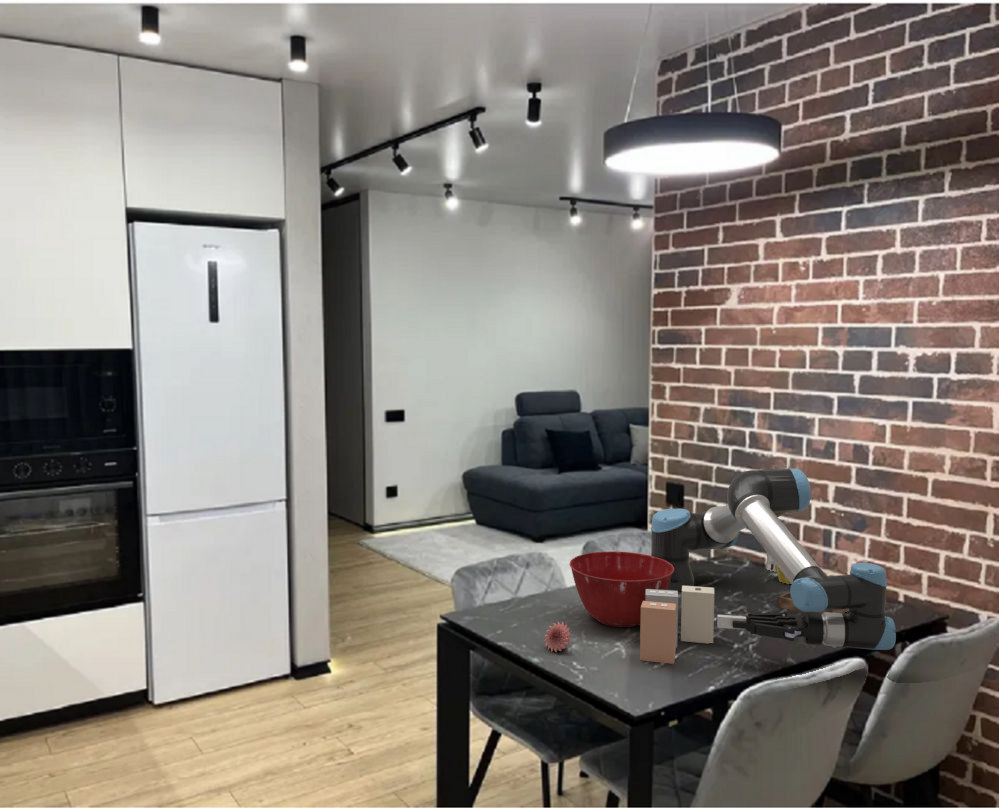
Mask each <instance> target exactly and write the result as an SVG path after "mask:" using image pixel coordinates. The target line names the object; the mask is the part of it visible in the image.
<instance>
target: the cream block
mask: <svg viewBox="0 0 999 808" xmlns="http://www.w3.org/2000/svg"><path fill="white" fill-rule="evenodd" d="M680 610H681V615H680V616H681V618H680V619H681V620H680V621H681V622H680V642H688V643H689V642H690V643H698V644H709V643H713V644H714V630H715V629H714V623H715V622H714V621H715V618H714V617H715V587H710V586H709V587H708V586H695V585H694V586H682V591H681V609H680Z"/></svg>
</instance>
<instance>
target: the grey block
mask: <svg viewBox="0 0 999 808" xmlns="http://www.w3.org/2000/svg"><path fill="white" fill-rule="evenodd" d="M645 601H651V602H662V603H673V604H676V649H678V635H679V634H678V629H679V626H678V624H679V622H678V620H679V591H672V590H654V589H646V599H645Z"/></svg>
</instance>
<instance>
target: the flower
mask: <svg viewBox="0 0 999 808" xmlns="http://www.w3.org/2000/svg"><path fill="white" fill-rule="evenodd" d="M552 625H553V626H552ZM552 625H549V626H548V628H549V629H547V630H546V629H545V632H547V633H546V634H545V635H544V636H543V637H546V638H545V639H544V640H543V642H546V643H545V645H544V647H546V646H548V647H547V651H549V650H550V653H553V651H554V652H555V653H558V651H559V652H562V650H565V649H566V648H567V646H568V645H570V640H571V638H572V637H570V636H571V634H572V631H570V629H571V628H570V626H569V627H568V623H565V624H564V621H562V622H561V623H560V621H557V624H556V623H555V622H552Z"/></svg>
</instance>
